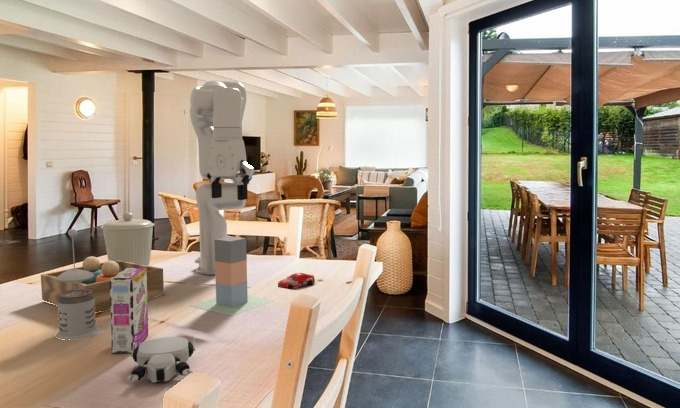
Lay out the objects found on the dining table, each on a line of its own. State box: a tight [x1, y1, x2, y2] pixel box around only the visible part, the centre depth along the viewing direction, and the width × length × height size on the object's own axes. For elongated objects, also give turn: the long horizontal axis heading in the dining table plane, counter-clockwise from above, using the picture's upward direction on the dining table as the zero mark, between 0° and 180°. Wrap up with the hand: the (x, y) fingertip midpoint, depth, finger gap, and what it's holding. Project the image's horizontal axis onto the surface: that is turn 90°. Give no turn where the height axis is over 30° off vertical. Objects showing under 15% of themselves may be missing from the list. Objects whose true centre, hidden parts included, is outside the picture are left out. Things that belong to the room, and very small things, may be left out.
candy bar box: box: [109, 268, 149, 354], centre depth 115 cm, size 11×5×16 cm, turn 5°
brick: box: [214, 260, 248, 286], centre depth 141 cm, size 6×6×6 cm
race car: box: [277, 272, 316, 291], centre depth 165 cm, size 13×5×4 cm, turn 131°
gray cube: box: [214, 235, 248, 264], centre depth 141 cm, size 6×6×6 cm
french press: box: [55, 228, 101, 341], centre depth 122 cm, size 10×12×25 cm
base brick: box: [215, 280, 249, 308], centre depth 142 cm, size 6×6×6 cm
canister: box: [100, 211, 156, 266], centre depth 188 cm, size 18×18×21 cm
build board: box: [189, 295, 273, 317], centre depth 142 cm, size 16×16×1 cm
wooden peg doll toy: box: [81, 255, 119, 285], centre depth 152 cm, size 18×17×12 cm
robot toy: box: [127, 336, 196, 383], centre depth 101 cm, size 12×4×15 cm
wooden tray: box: [40, 260, 165, 313], centre depth 151 cm, size 23×24×8 cm
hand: (229, 198), depth 140 cm, fingers open, 9 cm apart
